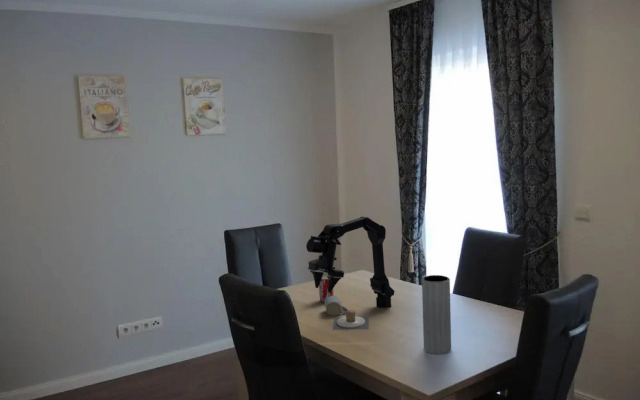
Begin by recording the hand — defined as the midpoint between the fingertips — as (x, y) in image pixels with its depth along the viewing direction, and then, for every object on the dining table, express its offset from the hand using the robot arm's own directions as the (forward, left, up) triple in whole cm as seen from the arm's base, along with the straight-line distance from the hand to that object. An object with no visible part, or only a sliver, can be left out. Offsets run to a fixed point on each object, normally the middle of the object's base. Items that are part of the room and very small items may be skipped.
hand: (322, 290), depth 229 cm
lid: (-11, 0, -15) cm, 19 cm away
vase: (-44, +28, -16) cm, 55 cm away
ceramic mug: (-5, -14, -16) cm, 22 cm away
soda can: (+2, -34, -16) cm, 38 cm away
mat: (-11, 0, -15) cm, 19 cm away
